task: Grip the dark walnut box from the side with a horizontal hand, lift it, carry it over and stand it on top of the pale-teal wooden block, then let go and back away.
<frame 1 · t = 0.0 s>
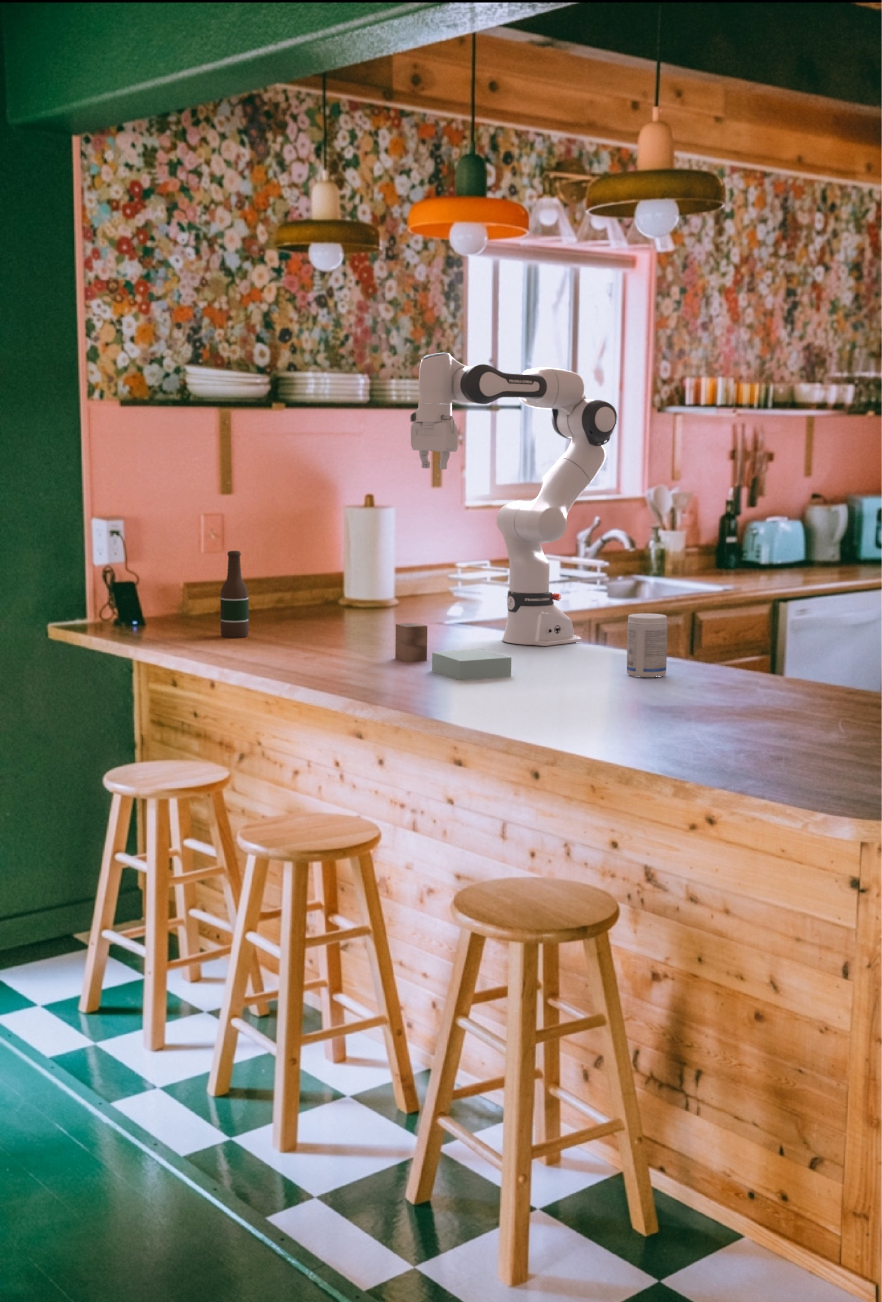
hand: (434, 468, 351), 48 cm above the countertop, tool pointing down, fingers open, 8 cm apart
beer bottle: (234, 637, 373), on the countertop
supplement tub: (645, 676, 323), on the countertop
walnut box: (411, 659, 340), on the countertop
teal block: (471, 675, 321), on the countertop
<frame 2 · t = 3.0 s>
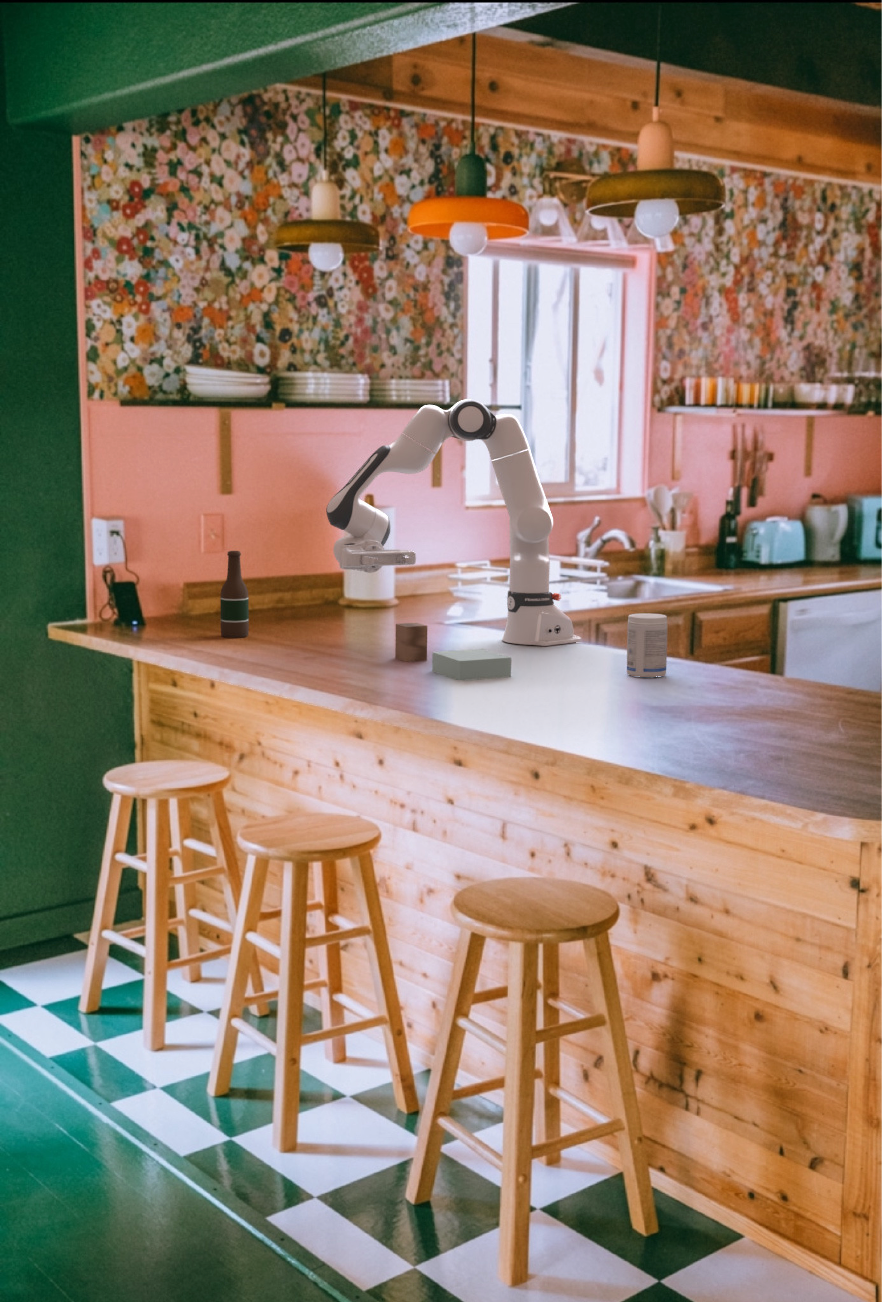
hand: (391, 560, 346), 24 cm above the countertop, tool horizontal, fingers open, 8 cm apart
nothing on the countertop moved.
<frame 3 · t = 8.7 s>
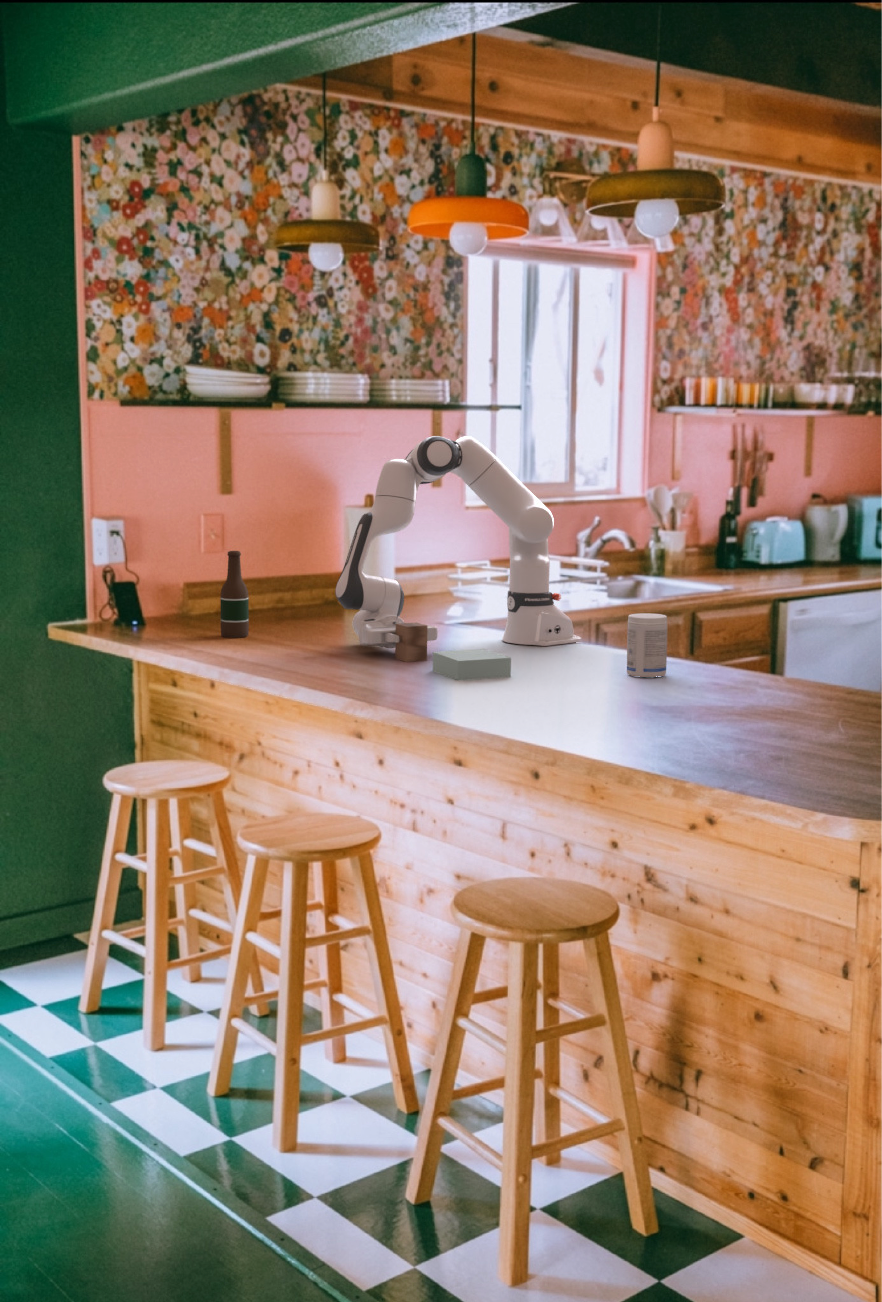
hand: (412, 638, 338), 6 cm above the countertop, tool horizontal, fingers closed on walnut box, 6 cm apart
walnut box: (411, 659, 340), on the countertop, touching gripper
everything else where it was.
when the fingers open (11 cm above the countertop, at t = 15.6 s): walnut box drops 1 cm, point 5 cm above the countertop.
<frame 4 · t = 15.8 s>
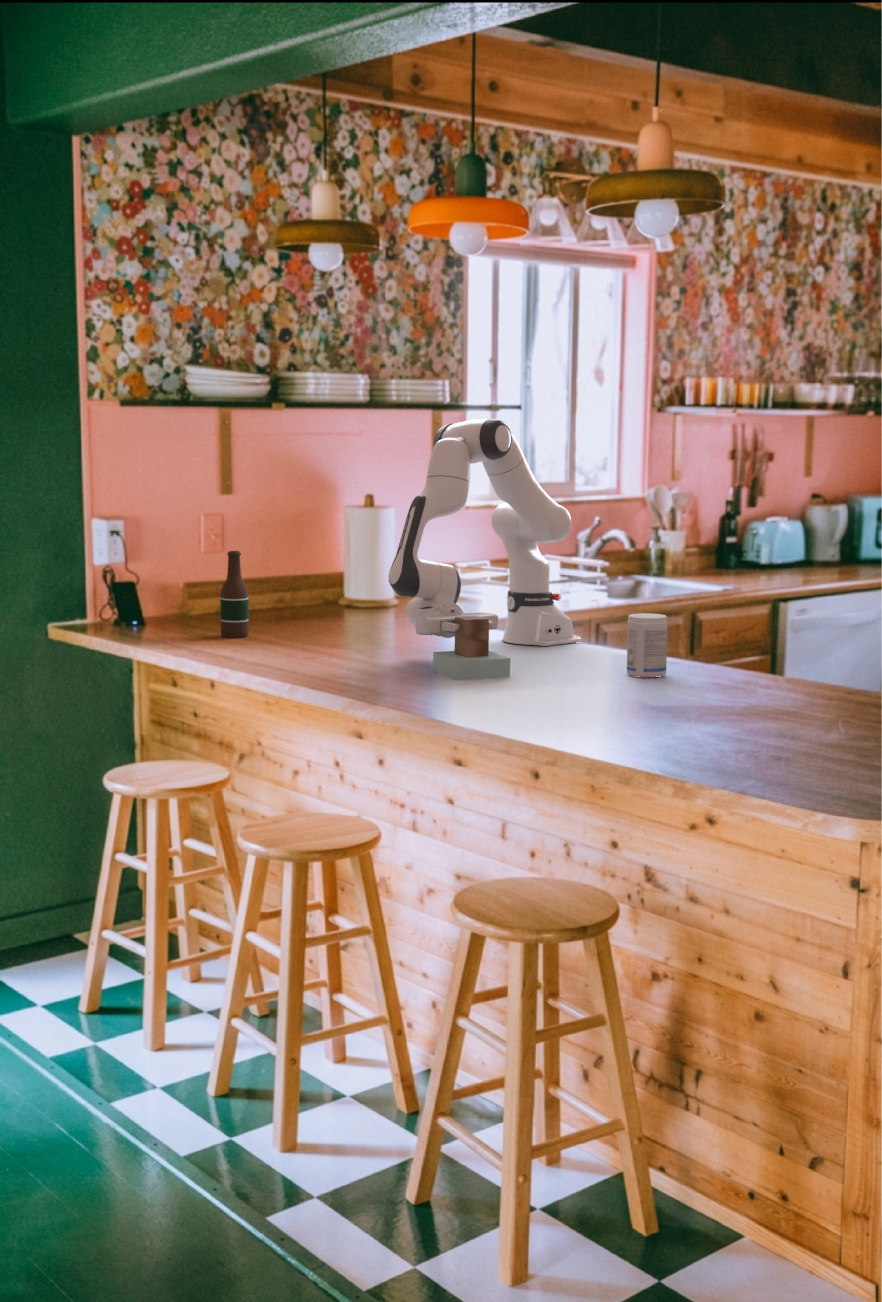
hand: (473, 627, 318), 11 cm above the countertop, tool horizontal, fingers open, 8 cm apart
walnut box: (471, 654, 320), point 5 cm above the countertop
everything else where it was.
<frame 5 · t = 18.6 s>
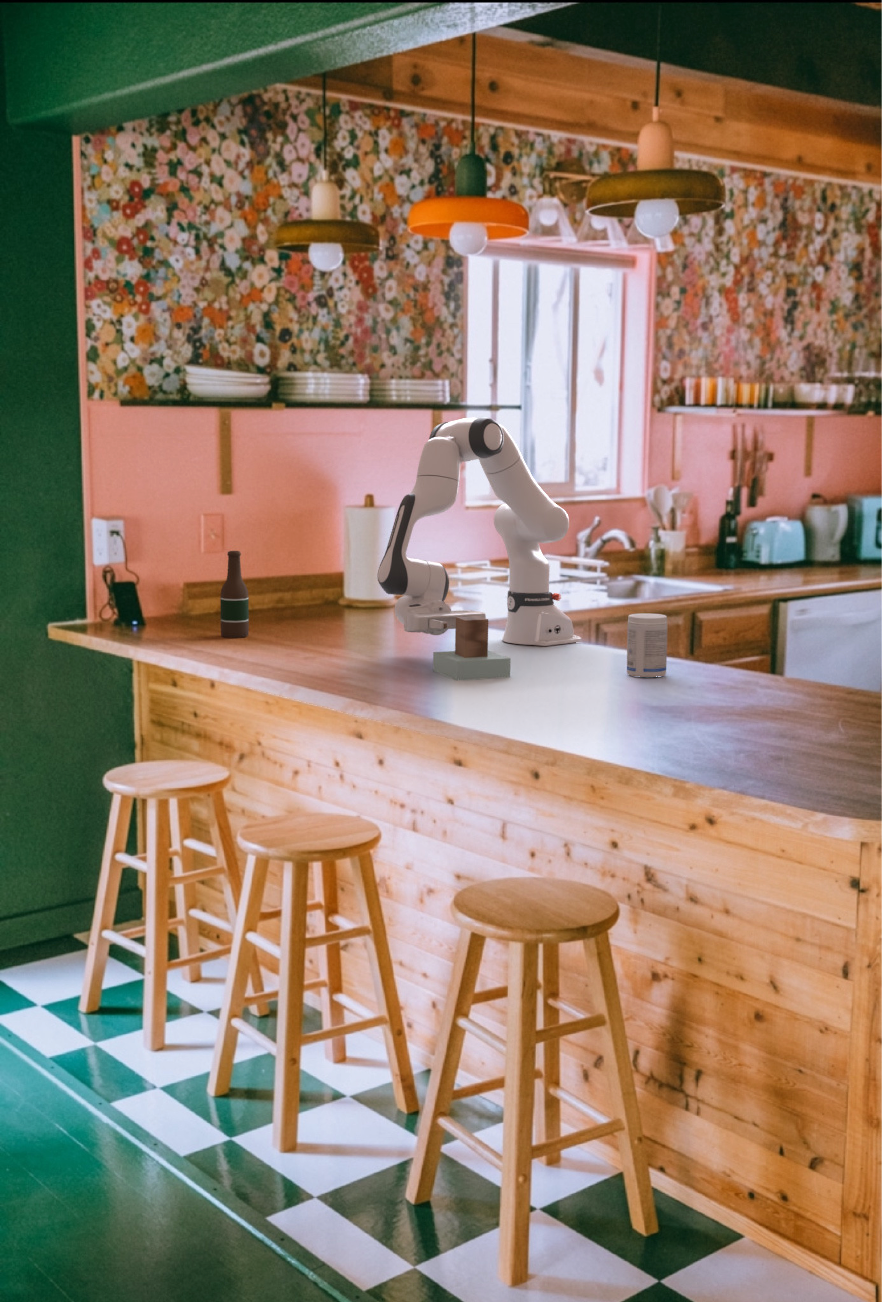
hand: (461, 624, 323), 11 cm above the countertop, tool horizontal, fingers open, 8 cm apart
walnut box: (471, 655, 320), point 5 cm above the countertop, touching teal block
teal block: (471, 675, 321), on the countertop, touching walnut box
everything else where it was.
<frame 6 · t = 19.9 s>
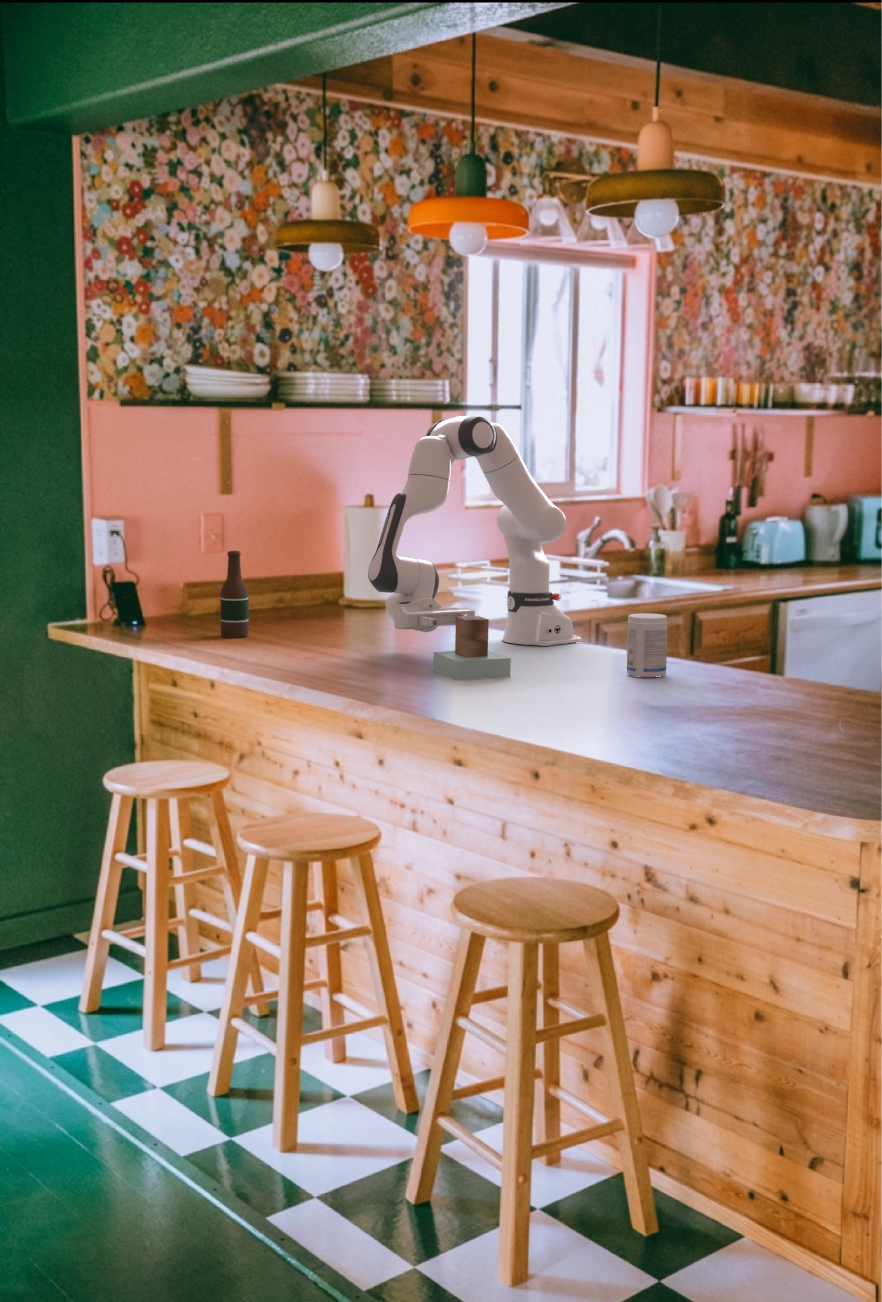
hand: (450, 621, 328), 11 cm above the countertop, tool horizontal, fingers open, 8 cm apart
walnut box: (471, 655, 320), point 5 cm above the countertop
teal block: (471, 675, 321), on the countertop
everything else where it was.
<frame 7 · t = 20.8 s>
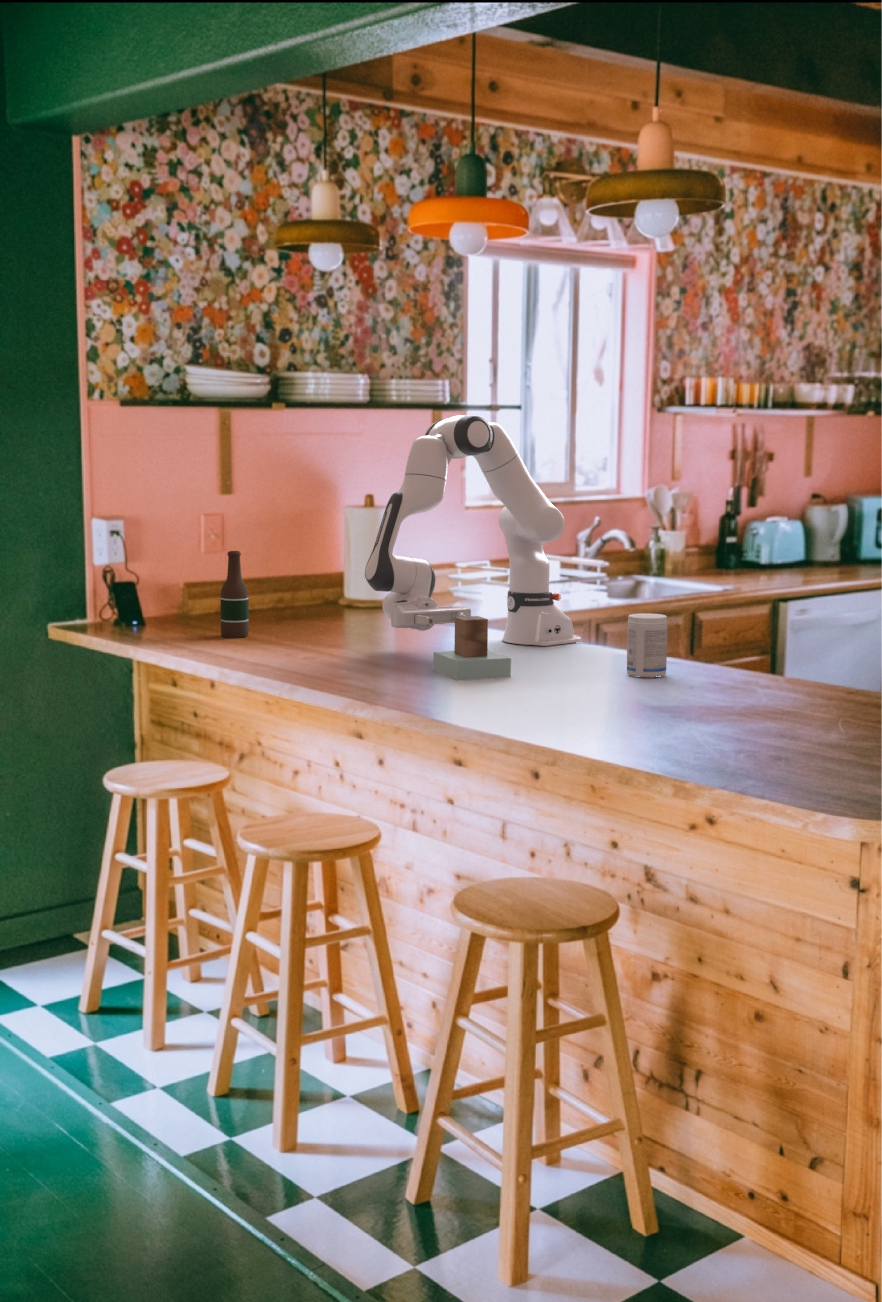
hand: (446, 619, 330), 11 cm above the countertop, tool horizontal, fingers open, 8 cm apart
walnut box: (470, 655, 320), point 5 cm above the countertop, touching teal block
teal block: (471, 675, 321), on the countertop, touching walnut box
everything else where it was.
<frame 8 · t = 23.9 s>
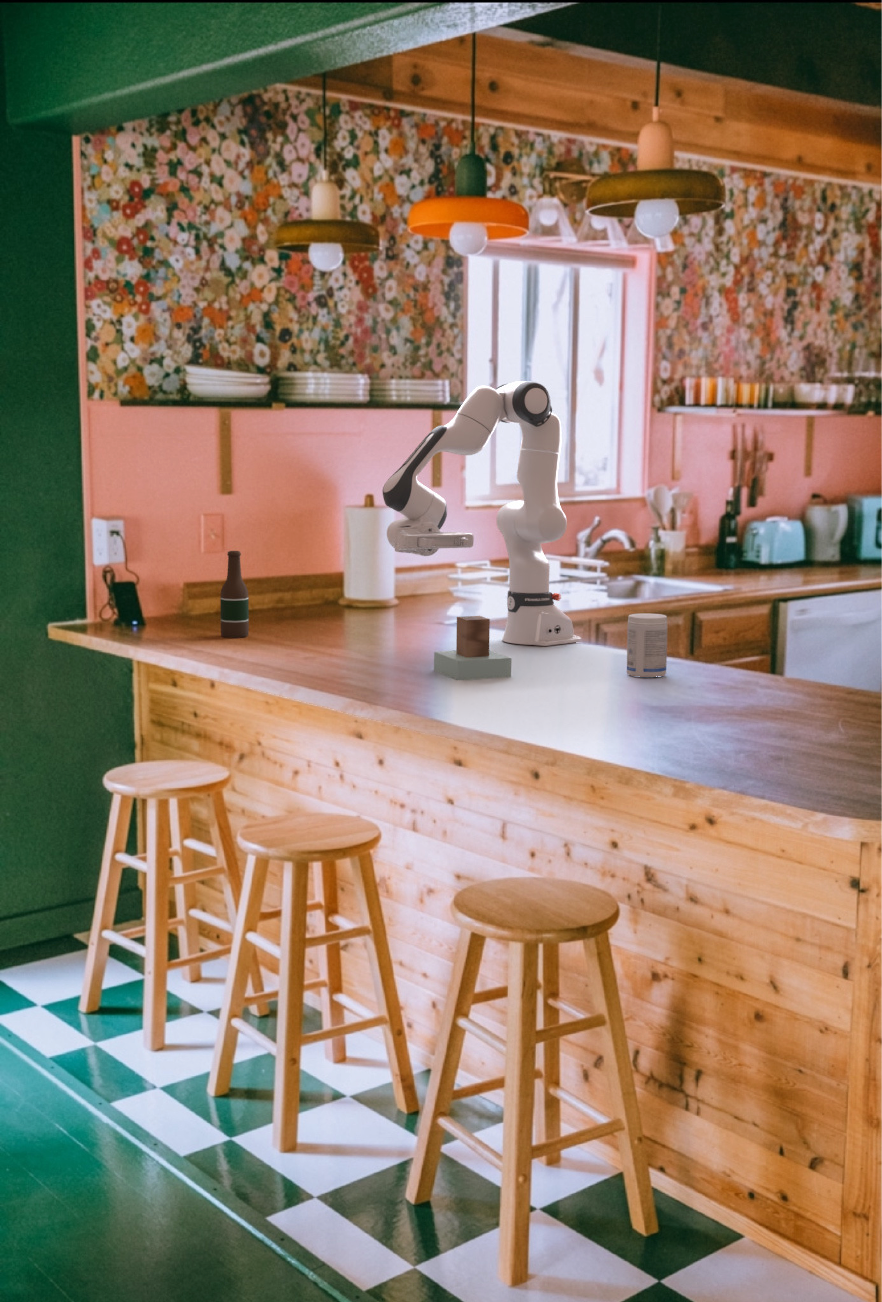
hand: (449, 542, 335), 30 cm above the countertop, tool horizontal, fingers open, 8 cm apart
nothing on the countertop moved.
at the end: walnut box inside the target area on the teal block (0.2 cm from its centre), point 5.0 cm above the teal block's base; walnut box tilted 0°; the gripper is holding nothing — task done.
